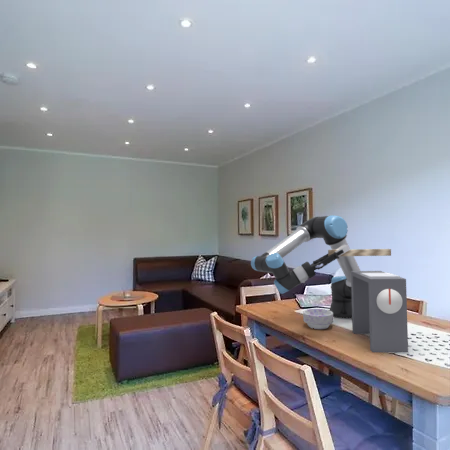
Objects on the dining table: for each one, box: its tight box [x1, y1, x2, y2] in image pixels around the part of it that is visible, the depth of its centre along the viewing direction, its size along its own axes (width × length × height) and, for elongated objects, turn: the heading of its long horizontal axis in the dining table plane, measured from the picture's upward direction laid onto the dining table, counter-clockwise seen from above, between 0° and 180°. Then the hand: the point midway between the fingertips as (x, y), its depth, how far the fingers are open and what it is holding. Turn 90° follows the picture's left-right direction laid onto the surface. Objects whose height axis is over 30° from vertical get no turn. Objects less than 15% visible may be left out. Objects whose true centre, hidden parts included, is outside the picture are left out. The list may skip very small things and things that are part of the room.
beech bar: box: [327, 248, 392, 257], centre depth 159 cm, size 28×3×3 cm, turn 85°
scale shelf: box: [351, 270, 409, 353], centre depth 151 cm, size 14×29×31 cm, turn 175°
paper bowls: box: [302, 308, 334, 330], centre depth 176 cm, size 15×15×8 cm
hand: (347, 247), depth 160 cm, fingers closed on beech bar, 3 cm apart
